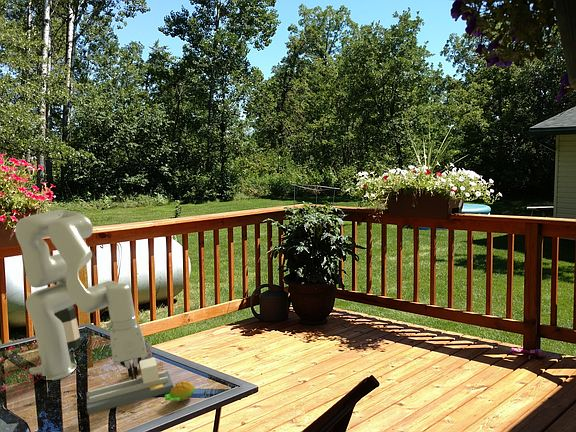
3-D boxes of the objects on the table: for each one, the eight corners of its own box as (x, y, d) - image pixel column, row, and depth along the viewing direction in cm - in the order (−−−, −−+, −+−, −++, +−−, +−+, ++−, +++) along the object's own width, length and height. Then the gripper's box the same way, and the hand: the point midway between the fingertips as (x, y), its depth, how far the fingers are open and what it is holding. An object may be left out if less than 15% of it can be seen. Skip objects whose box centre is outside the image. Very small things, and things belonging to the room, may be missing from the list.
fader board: (88, 414, 165) (86, 403, 165) (87, 397, 177) (85, 387, 176) (174, 390, 174) (172, 380, 173) (168, 376, 185) (167, 366, 184)
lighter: (146, 373, 190) (141, 345, 188) (137, 373, 191) (132, 346, 189) (156, 362, 198) (151, 336, 196) (147, 363, 199) (142, 337, 197)
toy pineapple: (200, 395, 169) (198, 378, 168) (177, 411, 161) (174, 394, 160) (185, 391, 173) (182, 375, 172) (161, 406, 165) (158, 390, 164)
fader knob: (144, 388, 173) (141, 369, 172) (142, 379, 180) (138, 361, 178) (160, 384, 175) (157, 364, 174) (157, 375, 181) (154, 357, 180)
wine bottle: (64, 346, 227) (50, 276, 222) (84, 343, 227) (71, 273, 223) (57, 354, 219) (43, 282, 214) (79, 350, 219) (64, 278, 214)
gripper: (99, 332, 166) (110, 389, 169) (149, 321, 171) (159, 376, 174) (99, 325, 173) (109, 379, 176) (147, 314, 178) (156, 367, 181)
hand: (134, 377), depth 175 cm, fingers closed
